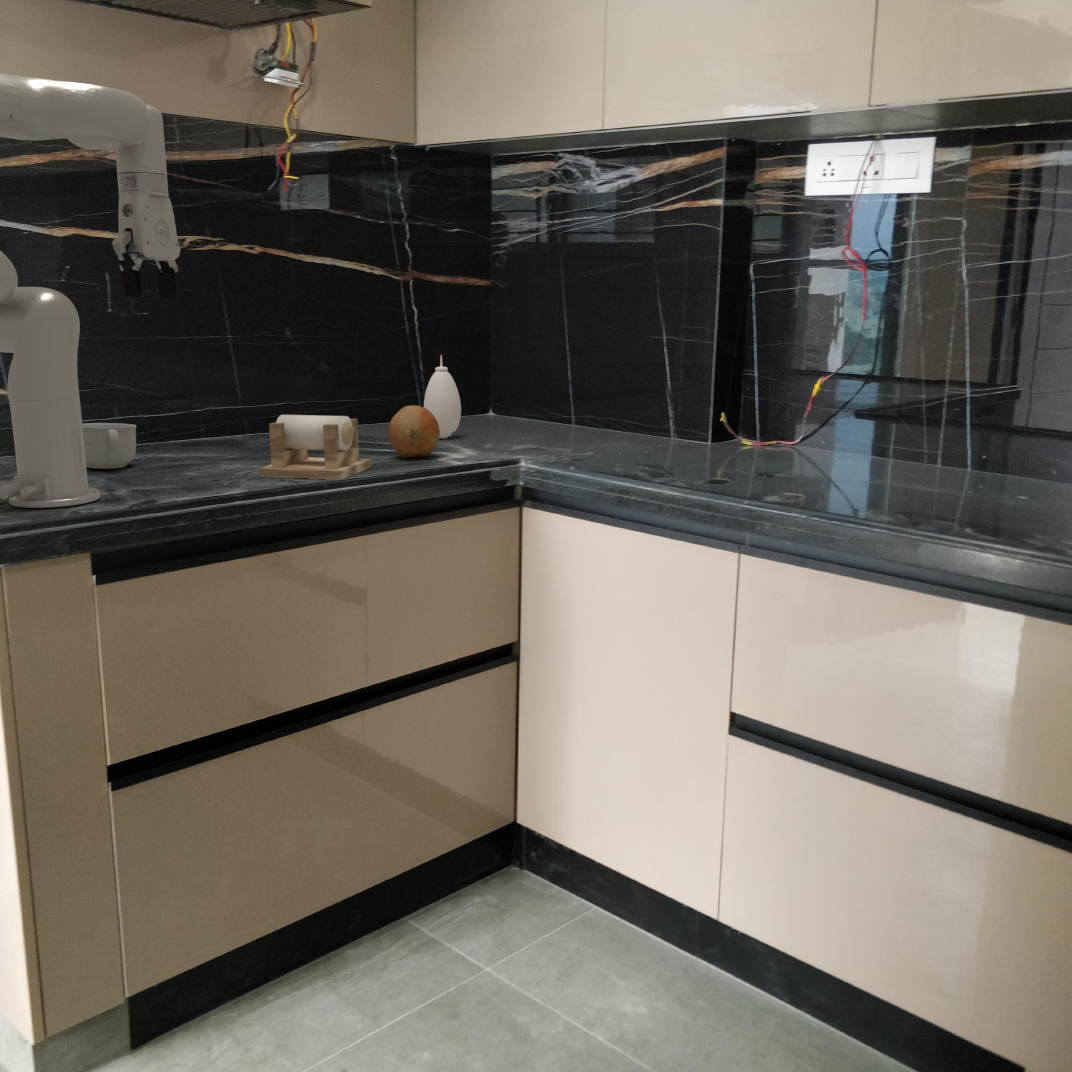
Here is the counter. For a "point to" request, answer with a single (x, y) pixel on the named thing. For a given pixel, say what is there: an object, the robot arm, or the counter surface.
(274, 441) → the roll holder
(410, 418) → the orange
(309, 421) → the towel roll
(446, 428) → the sauce bottle
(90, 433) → the teacup
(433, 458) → the counter surface
